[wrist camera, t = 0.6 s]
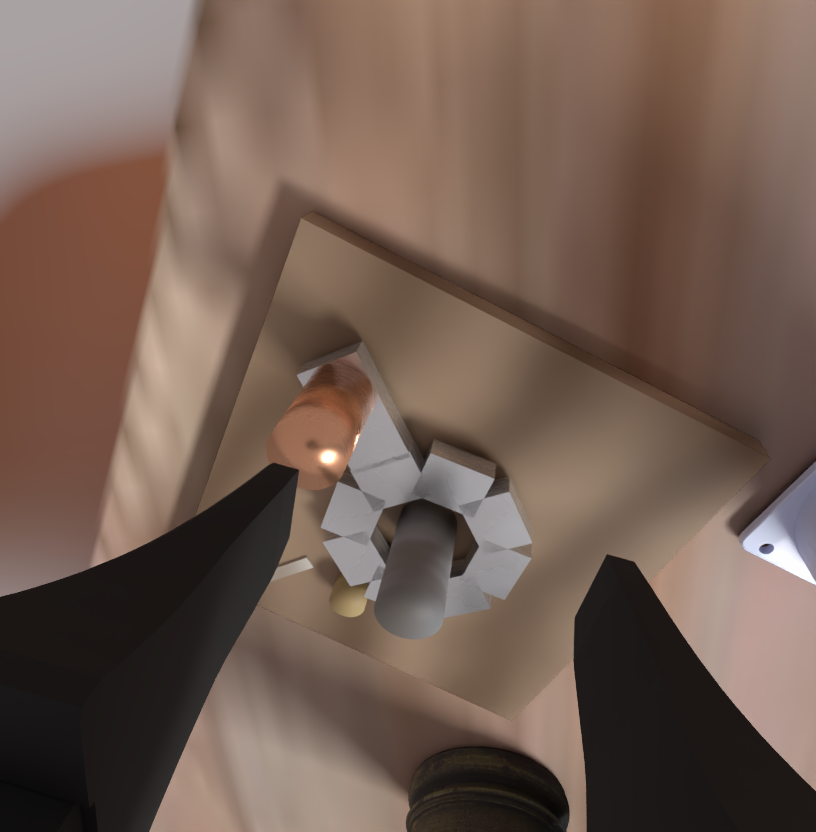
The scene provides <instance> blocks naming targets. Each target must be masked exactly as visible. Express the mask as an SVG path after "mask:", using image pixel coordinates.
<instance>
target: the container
mask: <svg viewBox="0 0 816 832" xmlns="http://www.w3.org/2000/svg"><path fill="white" fill-rule="evenodd" d="M409 806H410V811H409V813H408V815H407V818H406V829H407V832H567V831H566V829H567V826H568V823H569V805H568V801H567V798H566V795H565V792H564V789H563V787H562V786H561V784H560V783H559V781H558V780H557V779H556V778H555V776H554V775H552V774H551V773H550V772H549V771H548V770H547V769H545V768H544V767H542V766H541V765H539V764H537V763H536V762H534V761H532V760H530V759H528V758H526V757H523V756H521V755H518V754H515V753H511V752H507V751H504V750H499V749H491V748H478V747H472V748H459V749H453V750H449V751H445V752H442V753H439V754H437V755H435V756H433V757H431V758H430V759H428V760H426V761H425V762H424V763H423V764H422V765H421V766H420V767H419V769H418V770H417V771H416V773H415V775H414V777H413V780H412V782H411V785H410V789H409Z"/></svg>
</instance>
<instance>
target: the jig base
mask: <svg viewBox="0 0 816 832" xmlns="http://www.w3.org/2000/svg"><path fill="white" fill-rule="evenodd" d="M361 341H363V342H364V344H365V346H366V348H367V350H368V352H369V354H370V356H371V358H372V360H373V361H374V363H375V365H376V367H377V369H378V371H379V373H380V375H381V377H382V379H383V381H384V383H385V385H386V387H387V389H388V391H389V393H390V395H391V397H392V399H393V401H394V403H395V404H396V406H397V408H398V410H399V412H400V414H401V416H402V418H403V420H404V422H405V424H406V426H407V428H408V430H409V432H410V434H411V436H412V438H414V439H415V441H416V443H417V445H418V447H419V449H420V451H421V453H422V455H423V456H424V458H425V457H426V455H427V453H428V451H429V449H430V446H431V444H432V442H433V440H434V439H435V440H438V441H440V442H443V443H445V444H448V445H450V446H453V447H455V448H458V449H460V450H463V451H465V452H468V453H470V454H473V455H475V456H478V457H480V458H483V459H485V460H488V461H490V462H493V463H495V464H496V469H495V479H494V481H495V480H498V479H502V478H505V477H509V476H510V478H511V480H512V482H513V485H514V487H515V489H516V491H517V494H518V496H519V498H520V500H521V502H522V505H523V507H524V509H525V511H526V514H527V516H528V518H529V520H530V522H531V525H532V536H533V543H532V544H531V553H532V559H531V560H530V562H529V563H528V565H527V566H526V568H525V569H524V571H523V572H522V574H521V575H520V577H519V579H518V580H517V582H516V583H515V585H514V586H513V588H512V589H511V591H510V592H509V594H508V595H507V597H506V599H505V600H503V599H500V598H498V597H495V596H493V595H492V600H491V609H486V610H481V611H476V612H471V613H466V614H461V615H456V616H452V617H447V618H444V613H445V606H446V600H447V593H448V586H449V579H450V572H451V565H452V561H455V560H460V559H464V558H465V557H466V555H467V554H468V552H469V550H470V548H471V547H472V545H473V543H474V541H475V538H474V536H473V534H472V532H471V530H470V528H469V526H468V524H467V522H466V520H465V518H464V516H463V514H461V513H458V512H456V511H453V510H451V509H448V508H446V507H443V506H441V505H438V504H436V503H433V502H431V501H428V500H426V499H423V498H420V499H417V500H413V501H410V502H406V503H402V504H399V505H395V506H392V507H388V508H385V509H383V510H382V513H381V515H380V517H379V519H378V522H377V524H376V525H377V527H378V529H379V530H380V532H381V534H382V535H383V537H384V539H385V541H386V542H387V544H388V546H389V548H390V552H389V555H388V559H387V562H386V566H385V570H384V573H383V577H382V580H381V584H380V587H379V591H378V594H377V598H376V601H373V600H371V599H368V598H365V597H364V594H365V591H366V587H367V584H368V582H367V583H363V584H359V585H354V586H350V585H349V583H348V582H347V580H346V579H345V577H344V576H343V574H342V572H341V571H340V569H339V568H338V566H337V564H336V563H335V561H334V560H333V558H332V557H331V555H330V553H329V552H328V550H327V549H326V547H325V546H324V544H323V540H324V538H325V535H326V533H327V530H325V529H322V528H320V527H321V525H322V522H323V520H324V517H325V514H326V512H327V509H328V506H329V504H330V501H331V498H332V496H333V493H334V490H335V488H336V485H337V482H338V481H337V482H336V483H335V484H334V485H332V486H330V487H328V488H325V489H321V490H306V489H301V488H298V487H297V489H296V496H295V503H294V510H293V517H292V524H291V531H290V538H289V540H288V542H287V545H286V547H285V550H284V552H283V554H282V557H281V559H280V562H279V564H278V566H277V569H276V571H275V573H274V575H273V577H272V579H271V581H270V583H269V585H268V586H267V588H266V590H265V592H264V593H263V595H262V597H261V599H260V600H259V602H258V604H257V605H258V606H260V607H262V608H265V609H267V610H269V611H271V612H273V613H276V614H278V615H280V616H282V617H284V618H287V619H289V620H291V621H293V622H295V623H298V624H300V625H302V626H304V627H306V628H309V629H311V630H313V631H315V632H317V633H319V634H322V635H324V636H326V637H328V638H330V639H333V640H335V641H337V642H339V643H341V644H344V645H346V646H348V647H350V648H352V649H355V650H357V651H359V652H361V653H363V654H366V655H368V656H370V657H372V658H374V659H377V660H379V661H381V662H383V663H385V664H387V665H390V666H392V667H394V668H396V669H398V670H401V671H403V672H405V673H407V674H409V675H412V676H414V677H416V678H418V679H420V680H423V681H425V682H427V683H429V684H431V685H434V686H436V687H438V688H440V689H442V690H445V691H447V692H449V693H451V694H453V695H456V696H458V697H460V698H462V699H464V700H466V701H469V702H471V703H473V704H475V705H477V706H480V707H482V708H484V709H486V710H488V711H491V712H493V713H495V714H497V715H499V716H502V717H504V718H506V719H508V720H510V721H512V720H513V719H514V718H515V717H516V716H517V715H518V714H519V713H520V712H521V711H522V710H523V709H524V708H525V707H526V706H527V705H528V704H529V703H530V702H531V701H532V700H533V699H534V698H535V697H536V696H537V695H538V694H539V693H540V692H541V691H542V690H543V689H544V688H545V687H546V686H547V685H548V684H549V683H550V682H551V681H552V680H553V679H554V678H555V677H556V676H557V675H558V674H559V673H560V672H561V671H562V669H563V668H564V667H565V666H566V665H567V664H568V663H569V662H570V661H571V660H572V659H573V658H574V620H575V616H576V614H577V612H578V610H579V608H580V606H581V604H582V602H583V600H584V598H585V596H586V594H587V592H588V590H589V588H590V586H591V584H592V582H593V580H594V578H595V576H596V574H597V572H598V571H599V569H600V567H601V565H602V563H603V561H604V559H605V557H606V555H607V554H608V555H612V556H616V557H619V558H623V559H627V560H630V561H634V562H635V563H636V565H637V566H638V568H639V569H640V571H641V572H642V574H643V575H644V577H645V578H646V580H647V582H649V581H650V580H651V579H652V578H653V577H654V576H655V575H656V574H657V573H658V572H659V571H660V570H661V569H662V568H663V567H664V566H665V565H666V564H667V563H668V562H669V561H670V560H671V559H672V558H673V557H674V556H675V555H676V554H677V553H678V552H679V551H680V550H681V549H682V548H683V547H684V546H685V545H686V544H687V543H688V542H689V541H690V540H691V539H692V538H693V537H694V536H695V535H696V534H697V533H698V532H699V531H700V530H701V529H702V528H703V527H704V526H705V525H706V524H707V523H708V522H709V521H710V520H711V519H712V518H713V517H714V516H715V515H716V514H717V513H718V512H719V511H720V510H721V509H722V507H723V506H724V505H725V504H726V503H727V502H728V501H729V500H730V499H731V498H732V497H733V496H734V495H735V494H736V493H737V492H738V491H739V490H740V489H741V488H742V487H743V486H744V485H745V484H746V483H747V482H748V481H749V480H750V479H751V478H752V477H753V476H754V475H755V474H756V473H757V472H758V471H759V470H760V469H761V468H762V467H763V466H764V465H765V464H766V463H767V462H768V461H769V460H770V459H771V458H770V457H769V455H768V454H767V452H766V451H765V449H764V448H763V446H762V444H761V443H760V441H758V440H756V439H755V438H753V437H751V436H749V435H747V434H745V433H743V432H741V431H739V430H737V429H735V428H733V427H731V426H729V425H727V424H725V423H723V422H721V421H719V420H718V419H716V418H714V417H712V416H710V415H708V414H706V413H704V412H702V411H700V410H698V409H696V408H694V407H692V406H690V405H688V404H686V403H684V402H683V401H681V400H679V399H677V398H675V397H673V396H671V395H669V394H667V393H665V392H663V391H661V390H659V389H657V388H655V387H653V386H651V385H649V384H647V383H646V382H644V381H642V380H640V379H638V378H636V377H634V376H632V375H630V374H628V373H626V372H624V371H622V370H620V369H618V368H616V367H614V366H612V365H610V364H609V363H607V362H605V361H603V360H601V359H599V358H597V357H595V356H593V355H591V354H589V353H587V352H585V351H583V350H581V349H579V348H577V347H575V346H573V345H572V344H570V343H568V342H566V341H564V340H562V339H560V338H558V337H556V336H554V335H552V334H550V333H548V332H546V331H544V330H542V329H540V328H538V327H536V326H535V325H533V324H531V323H529V322H527V321H525V320H523V319H521V318H519V317H517V316H515V315H513V314H511V313H509V312H507V311H505V310H503V309H501V308H500V307H498V306H496V305H494V304H492V303H490V302H488V301H486V300H484V299H482V298H480V297H478V296H476V295H474V294H472V293H470V292H468V291H466V290H464V289H463V288H461V287H459V286H457V285H455V284H453V283H451V282H449V281H447V280H445V279H443V278H441V277H439V276H437V275H435V274H433V273H431V272H429V271H427V270H426V269H424V268H422V267H420V266H418V265H416V264H414V263H412V262H410V261H408V260H406V259H404V258H402V257H400V256H398V255H396V254H394V253H392V252H390V251H389V250H387V249H385V248H383V247H381V246H379V245H377V244H375V243H373V242H371V241H369V240H367V239H365V238H363V237H361V236H359V235H357V234H355V233H354V232H352V231H350V230H348V229H346V228H344V227H342V226H340V225H338V224H336V223H334V222H332V221H330V220H328V219H326V218H324V217H322V216H320V215H318V214H317V213H315V212H313V211H312V212H310V213H309V214H307V215H306V216H304V217H302V218H301V220H300V223H299V226H298V229H297V231H296V234H295V237H294V240H293V243H292V245H291V248H290V251H289V254H288V257H287V260H286V262H285V265H284V268H283V271H282V274H281V276H280V279H279V282H278V285H277V288H276V290H275V293H274V296H273V299H272V302H271V304H270V307H269V310H268V313H267V316H266V318H265V321H264V324H263V327H262V330H261V333H260V335H259V338H258V341H257V344H256V347H255V349H254V352H253V355H252V358H251V361H250V363H249V366H248V369H247V372H246V375H245V377H244V380H243V383H242V386H241V389H240V392H239V394H238V397H237V400H236V403H235V406H234V408H233V411H232V414H231V417H230V420H229V422H228V425H227V428H226V431H225V434H224V436H223V439H222V442H221V445H220V448H219V450H218V453H217V456H216V459H215V462H214V465H213V467H212V470H211V473H210V476H209V479H208V481H207V484H206V487H205V490H204V493H203V495H202V498H201V501H200V504H199V507H198V509H197V512H196V515H198V514H200V513H201V512H203V511H205V510H206V509H208V508H209V507H211V506H212V505H214V504H215V503H217V502H218V501H219V500H221V499H222V498H224V497H225V496H227V495H228V494H230V493H231V492H233V491H234V490H235V489H237V488H238V487H240V486H241V485H242V484H244V483H245V482H246V481H248V480H249V479H251V478H252V477H253V476H255V475H256V474H257V473H258V472H260V471H261V470H262V469H264V468H265V467H266V466H268V465H270V463H269V461H268V458H267V453H266V444H267V440H268V437H269V436H270V434H271V432H272V431H273V429H274V428H275V427H276V425H277V424H278V422H279V421H280V420H281V418H282V417H283V415H284V414H285V412H286V411H287V410H288V408H289V407H290V405H291V404H292V403H293V401H294V400H295V398H296V397H297V395H298V394H299V393H300V391H301V390H302V388H303V386H302V384H301V382H300V380H299V379H298V377H297V374H298V372H299V371H300V370H301V368H302V367H303V366H304V364H305V363H307V362H310V361H312V360H315V359H317V358H320V357H323V356H325V355H328V354H330V353H333V352H335V351H338V350H341V349H343V348H346V347H348V346H351V345H353V344H356V343H358V342H361ZM346 468H348V469H350V467H349V466H348V464H347V466H346ZM350 470H351V469H350ZM196 515H195V516H196Z"/></svg>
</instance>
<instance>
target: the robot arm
mask: <svg viewBox="0 0 816 832" xmlns="http://www.w3.org/2000/svg"><path fill="white" fill-rule="evenodd" d="M298 475H299V469H295V468H292V467H288V466H284V465H281V464H277V463H271V464H270V465H268V466H266V467H265V468H264V469H262V470H261V471H260V472H258V473H257V474H256V475H255V476H253V477H252V478H251V479H249V480H248V481H246V482H245V483H244V484H242V485H241V486H240V487H238V488H237V489H235V490H234V491H233V492H231V493H230V494H228V495H227V496H225V497H224V498H222V499H221V500H219V501H218V502H217V503H215V504H214V505H212V506H211V507H209V508H208V509H206V510H205V511H203V512H201V513H200V514H198V515H196V516H195V517H193V518H191V519H190V520H188V521H186V522H185V523H183V524H181V525H180V526H178V527H176V528H175V529H173V530H171V531H170V532H168V533H166V534H164V535H162V536H160V537H159V538H157V539H155V540H153V541H151V542H149V543H147V544H145V545H143V546H141V547H139V548H137V549H135V550H133V551H131V552H128V553H126V554H124V555H122V556H119V557H117V558H115V559H112V560H110V561H107V562H105V563H102V564H100V565H97V566H95V567H93V568H90V569H88V570H85V571H83V572H80V573H77V574H74V575H71V576H69V577H66V578H63V579H60V580H57V581H54V582H51V583H48V584H44V585H41V586H39V587H35V588H31V589H28V590H25V591H21V592H18V593H14V594H10V595H6V596H2V597H0V832H149V831H150V828H151V826H152V823H153V821H154V818H155V816H156V813H157V811H158V809H159V806H160V804H161V802H162V799H163V797H164V794H165V792H166V790H167V787H168V785H169V783H170V780H171V778H172V775H173V773H174V771H175V768H176V766H177V764H178V761H179V759H180V757H181V755H182V752H183V750H184V748H185V745H186V743H187V741H188V739H189V736H190V734H191V732H192V729H193V727H194V725H195V723H196V720H197V718H198V716H199V714H200V711H201V709H202V707H203V705H204V703H205V700H206V698H207V696H208V694H209V692H210V689H211V687H212V685H213V683H214V681H215V678H216V676H217V674H218V673H219V671H220V669H221V667H222V665H223V663H224V661H225V659H226V657H227V656H228V654H229V652H230V650H231V649H232V647H233V645H234V644H235V642H236V640H237V638H238V637H239V635H240V633H241V631H242V630H243V628H244V626H245V625H246V623H247V621H248V619H249V618H250V616H251V614H252V612H253V611H254V609H255V607H256V606H257V604H258V602H259V600H260V599H261V597H262V595H263V593H264V592H265V590H266V588H267V586H268V585H269V583H270V581H271V579H272V577H273V575H274V573H275V571H276V569H277V566H278V564H279V562H280V559H281V557H282V554H283V552H284V550H285V547H286V545H287V542H288V540H289V538H290V531H291V524H292V517H293V510H294V503H295V496H296V489H297V482H298ZM739 541H740V543H741V546H742V548H743V549H744V550H746V551H747V552H749V553H751V554H753V555H755V556H757V557H759V558H761V559H764V560H766V561H768V562H770V563H772V564H774V565H776V566H778V567H780V568H782V569H784V570H786V571H788V572H790V573H792V574H794V575H796V576H798V577H800V578H802V579H804V580H806V581H808V582H810V583H812V584H814V585H816V461H815V462H814V463H813V464H812V465H811V466H810V467H809V468H808V469H807V470H806V471H805V472H804V473H803V474H802V475H801V476H800V477H799V478H798V479H797V480H796V481H795V482H794V483H793V484H792V485H790V486H789V487H788V488H787V489H786V490H785V491H784V492H783V493H782V494H781V495H780V496H779V497H778V498H777V499H776V500H775V501H774V502H773V503H772V504H771V505H770V506H769V507H768V508H767V509H765V510H764V511H763V512H762V513H761V514H760V515H759V516H758V517H757V518H756V519H755V520H754V521H753V522H752V523H751V524H750V525H749V526H748V527H747V528H746V529H745V530H744V531H743V532H742V533H741V534H740V536H739ZM763 544H769V545H768V546H766V547H760V546H761V545H763ZM574 671H575V680H576V690H577V699H578V708H579V717H580V725H581V734H582V743H583V752H584V761H585V774H586V804H587V832H816V791H815V790H814V789H813V788H812V787H811V786H810V785H809V784H808V783H807V782H806V781H805V780H804V779H803V778H802V777H801V776H800V775H799V774H798V773H797V772H796V771H795V770H794V769H793V768H792V767H791V766H790V765H789V764H788V763H787V762H786V761H785V760H784V759H783V758H782V757H781V756H780V755H779V754H778V753H777V752H776V751H775V750H774V749H773V748H772V747H771V746H770V744H769V743H768V742H767V741H766V740H765V739H764V738H763V737H762V736H761V735H760V734H759V732H758V731H757V730H756V729H755V728H754V727H753V726H752V724H751V723H750V722H749V721H748V720H747V719H746V717H745V716H744V715H743V714H742V713H741V712H740V710H739V709H738V708H737V707H736V706H735V705H734V704H733V702H732V701H731V700H730V699H729V697H728V696H727V695H726V694H725V692H724V691H723V690H722V689H721V687H720V686H719V685H718V683H717V682H716V681H715V679H714V678H713V677H712V676H711V674H710V673H709V672H708V670H707V669H706V668H705V666H704V665H703V664H702V662H701V661H700V660H699V658H698V657H697V655H696V654H695V653H694V651H693V650H692V648H691V647H690V645H689V644H688V643H687V641H686V640H685V638H684V637H683V635H682V634H681V632H680V631H679V629H678V628H677V626H676V625H675V623H674V622H673V620H672V619H671V617H670V616H669V614H668V613H667V611H666V610H665V608H664V607H663V605H662V603H661V602H660V600H659V599H658V597H657V596H656V594H655V593H654V591H653V589H652V588H651V586H650V585H649V583H648V582H647V580H646V578H645V577H644V575H643V574H642V572H641V571H640V569H639V568H638V566H637V565H636V563H635V562H634V561H630V560H627V559H623V558H619V557H616V556H612V555H608V554H607V555H606V557H605V559H604V561H603V563H602V565H601V567H600V569H599V571H598V572H597V574H596V576H595V578H594V580H593V582H592V584H591V586H590V588H589V590H588V592H587V594H586V596H585V598H584V600H583V602H582V604H581V606H580V608H579V610H578V612H577V614H576V616H575V620H574Z"/></svg>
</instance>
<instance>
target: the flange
mask: <svg viewBox="0 0 816 832" xmlns="http://www.w3.org/2000/svg"><path fill="white" fill-rule="evenodd" d="M297 377H298V379H299V380H300V382H301V384H302V386H303V388H302V390H301V391H300V393H299V394H298V395H297V397H296V398H295V400H294V401H293V403H292V404H291V405H290V407H289V408H288V410H287V411H286V412H285V414H284V415H283V417H282V418H281V420H280V421H279V422H278V424H277V425H276V427H275V428H274V429H273V431H272V432H271V434H270V436H269V437H268V440H267V444H266V453H267V458H268V461H269V463H270V464H271V463H277V464H281V465H284V466H288V467H292V468H295V469H299V475H298V482H297V487H298V488H301V489H306V490H321V489H325V488H328V487H330V486H332V485H334V484H335V483H336V482H337V481H338V482H337V485H336V488H335V490H334V493H333V496H332V498H331V501H330V504H329V506H328V509H327V512H326V514H325V517H324V520H323V522H322V525H321V527H320V528H322V529H325V530H327V533H326V535H325V538H324V540H323V544H324V546H325V547H326V549H327V550H328V552H329V553H330V555H331V557H332V558H333V560H334V561H335V563H336V564H337V566H338V568H339V569H340V571H341V572H342V574H343V576H344V577H345V579H346V580H347V582H348V583H349V585H350V586H354V585H359V584H363V583H367V582H368V584H367V587H366V591H365V594H364V597H365V598H368V599H371V600H373V601H376V598H377V594H378V591H379V587H380V584H381V580H382V577H383V573H384V570H385V566H386V562H387V559H388V555H389V552H390V548H389V546H388V544H387V542H386V541H385V539H384V537H383V535H382V534H381V532H380V530H379V529H378V527H377V525H376V524H377V522H378V519H379V517H380V515H381V513H382V510H383V509H385V508H388V507H392V506H395V505H399V504H402V503H406V502H410V501H413V500H417V499H420V498H423V499H426V500H428V501H431V502H433V503H436V504H438V505H441V506H443V507H446V508H448V509H451V510H453V511H456V512H458V513H461V514H463V516H464V518H465V520H466V522H467V524H468V526H469V528H470V530H471V532H472V534H473V536H474V538H475V541H474V543H473V545H472V547H471V548H470V550H469V552H468V554H467V555H466V557H465V558H464V559H460V560H455V561H452V565H451V572H450V579H449V586H448V593H447V600H446V606H445V613H444V618H447V617H452V616H456V615H461V614H466V613H471V612H476V611H481V610H486V609H491V600H492V595H493V596H495V597H498V598H500V599H503V600H505V599H506V597H507V595H508V594H509V592H510V591H511V589H512V588H513V586H514V585H515V583H516V582H517V580H518V579H519V577H520V575H521V574H522V572H523V571H524V569H525V568H526V566H527V565H528V563H529V562H530V560H531V559H532V553H531V544H532V543H533V536H532V525H531V522H530V520H529V518H528V516H527V514H526V511H525V509H524V507H523V505H522V502H521V500H520V498H519V496H518V494H517V491H516V489H515V487H514V485H513V482H512V480H511V478H510V476H509V477H505V478H502V479H498V480H495V481H494V479H495V469H496V464H495V463H493V462H490V461H488V460H485V459H483V458H480V457H478V456H475V455H473V454H470V453H468V452H465V451H463V450H460V449H458V448H455V447H453V446H450V445H448V444H445V443H443V442H440V441H438V440H435V439H434V440H433V442H432V444H431V446H430V449H429V451H428V453H427V455H426V457H425V458H424V456H423V455H422V453H421V451H420V449H419V447H418V445H417V443H416V441H415V439H414V438H412V436H411V434H410V432H409V430H408V428H407V426H406V424H405V422H404V420H403V418H402V416H401V414H400V412H399V410H398V408H397V406H396V404H395V403H394V401H393V399H392V397H391V395H390V393H389V391H388V389H387V387H386V385H385V383H384V381H383V379H382V377H381V375H380V373H379V371H378V369H377V367H376V365H375V363H374V361H373V360H372V358H371V356H370V354H369V352H368V350H367V348H366V346H365V344H364V342H363V341H361V342H358V343H356V344H353V345H351V346H348V347H346V348H343V349H341V350H338V351H335V352H333V353H330V354H328V355H325V356H323V357H320V358H317V359H315V360H312V361H310V362H307V363H305V364H304V366H303V367H302V368H301V370H300V371H299V372H298V374H297ZM347 464H348V466H349V467H350V469H351V470H350V469H348V468H346V466H347Z"/></svg>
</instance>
